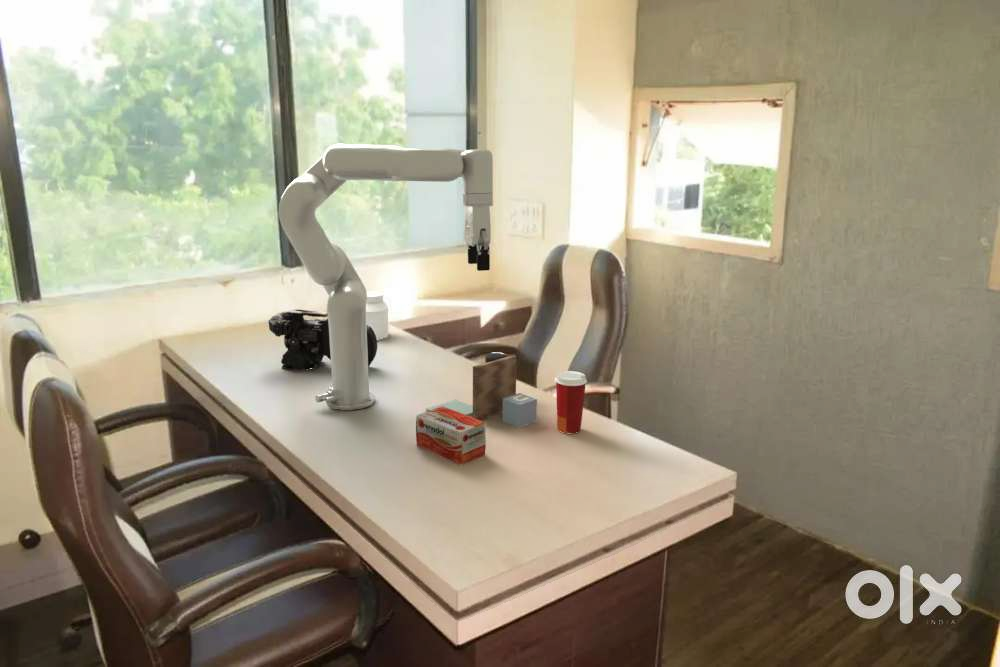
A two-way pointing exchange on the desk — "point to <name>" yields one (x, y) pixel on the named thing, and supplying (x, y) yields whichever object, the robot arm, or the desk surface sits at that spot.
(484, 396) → the screen
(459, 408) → the pad
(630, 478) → the desk surface
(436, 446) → the medicine box
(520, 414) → the letter cube
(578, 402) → the paper cup
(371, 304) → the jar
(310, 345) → the movie camera
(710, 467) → the desk surface
